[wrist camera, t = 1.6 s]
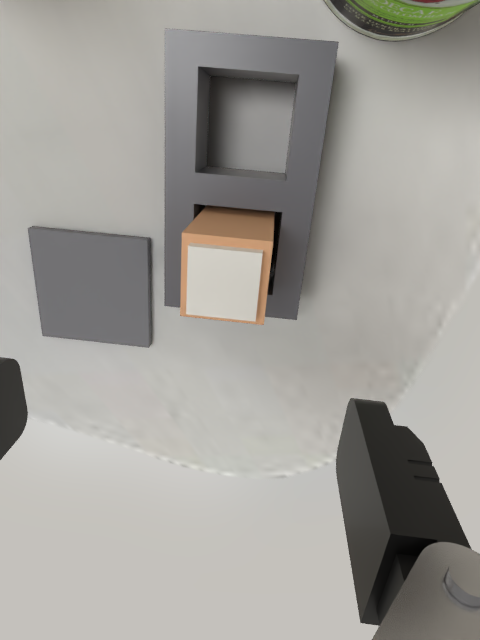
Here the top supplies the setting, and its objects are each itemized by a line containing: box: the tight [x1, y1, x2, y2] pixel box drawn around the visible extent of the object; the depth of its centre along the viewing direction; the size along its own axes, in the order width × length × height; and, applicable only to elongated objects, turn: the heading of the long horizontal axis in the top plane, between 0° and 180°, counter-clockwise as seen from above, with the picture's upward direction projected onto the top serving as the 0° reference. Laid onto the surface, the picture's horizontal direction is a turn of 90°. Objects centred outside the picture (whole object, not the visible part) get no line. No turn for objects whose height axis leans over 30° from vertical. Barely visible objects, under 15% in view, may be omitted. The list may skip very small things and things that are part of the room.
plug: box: [180, 205, 275, 325], centre depth 23 cm, size 4×4×10 cm
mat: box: [28, 226, 151, 348], centre depth 29 cm, size 8×8×1 cm
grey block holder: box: [165, 28, 339, 320], centre depth 24 cm, size 8×14×4 cm, turn 175°
